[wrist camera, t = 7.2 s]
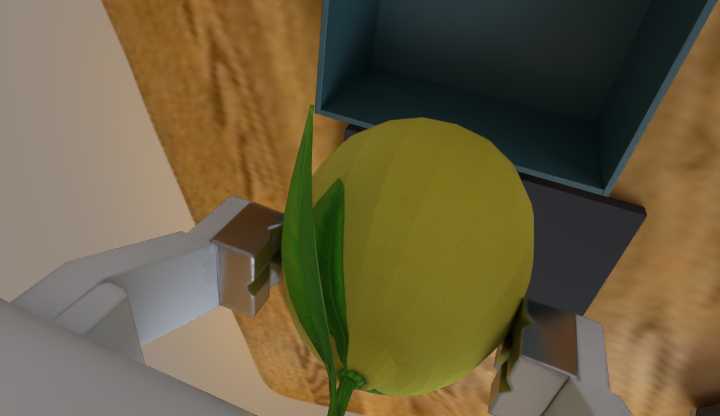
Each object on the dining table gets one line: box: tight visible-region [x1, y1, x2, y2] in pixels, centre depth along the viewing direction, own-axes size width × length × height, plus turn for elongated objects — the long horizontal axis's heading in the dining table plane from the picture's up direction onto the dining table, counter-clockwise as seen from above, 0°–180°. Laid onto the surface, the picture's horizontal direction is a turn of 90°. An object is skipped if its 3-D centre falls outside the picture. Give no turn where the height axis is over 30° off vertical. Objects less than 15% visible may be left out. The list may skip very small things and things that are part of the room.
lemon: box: [281, 105, 534, 416], centre depth 10 cm, size 7×6×10 cm
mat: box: [344, 124, 647, 316], centre depth 34 cm, size 20×12×1 cm, turn 82°
